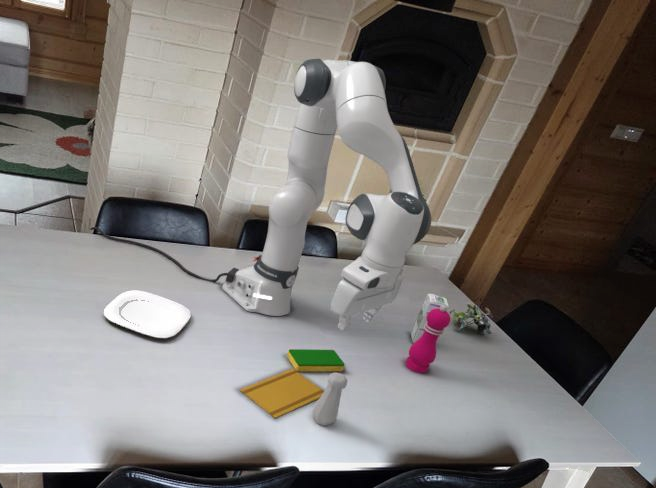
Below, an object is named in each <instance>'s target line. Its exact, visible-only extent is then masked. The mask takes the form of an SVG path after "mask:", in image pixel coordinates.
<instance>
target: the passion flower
mask: <svg viewBox="0 0 656 488" xmlns="http://www.w3.org/2000/svg"><path fill="white" fill-rule="evenodd" d="M466 306H467V307H468V309H467V310H466V311H465V312H463V311H461V312H458V313H457V312H456V310H455V309H451V310H450V311H449V315H450V314H452V313H454V314H453V315H452V319H456V320H455V321H454V322H453V326H455V325H456V324H457V323H459V322H461V324H460V327H459V328H458V329H456V332H458V331H461V329H465V328H467V327H469V326H470V325H476V326H477V327H476V331H477V334H481V336H484V332H486V333H487V334H488V335H491V334H492V331H491V323H490V322H489V321H490V319H493V315H492V311H490V309H489V307H487V306H485V307H484V310H485V312H486V313H483V311H482V309H481V307H479V305H477V304H474V305H473V306H472V305H471V304H470V302H469V301H468V302H467V305H466ZM486 316H488V317H486ZM470 318H471V319H472V320H470V321H468V319H470ZM489 318H490V319H489Z"/></svg>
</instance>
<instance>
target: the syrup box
mask: <svg viewBox="0 0 656 488" xmlns="http://www.w3.org/2000/svg"><path fill="white" fill-rule="evenodd" d="M442 305H445V306H446V307H447V310H446V312H448V309H449V306H450V305H449V303H448V299H447V297H445V296H442V295H439V294H434V293H429V292H428V293H427V294H426V296H425V300H424V301H423V303H422V306H421V307H420V310H419V313H418V316H417V318H416V320H415V322H414V324H413V326H412V329H411V332H410V337H411V338H410V339H411V342H412V344H414V343H415V342H416V341H417V340H418V339H419V338H420V337H421V336H422V335H423V333H424V331H425V329H424V326H425V324H426V323H427V315H428V313H429V312H430V311H431V310H433V309H440V306H442Z"/></svg>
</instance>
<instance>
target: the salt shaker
mask: <svg viewBox="0 0 656 488" xmlns="http://www.w3.org/2000/svg"><path fill="white" fill-rule="evenodd" d="M327 384H328V385H327V387H326V388H325V390H323V391H324V393H323V394H322V396H321V397H320V398H319V399H317V402H316V403H315V405H314V406H313V408H312V418H313V420H314V421H315V422H316V424H317V425H321V426H324V427H327V426H329V425H332V424H333V423H334V422H335V421H337V419H338V414H339V407H340V402H341V397H342V392H343V390H344V389H346V387H347V385H348V378H347V376H346V375H345V374H342V373H341V372H332V373H330V374H329V376H328V378H327Z"/></svg>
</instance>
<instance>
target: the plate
mask: <svg viewBox="0 0 656 488" xmlns="http://www.w3.org/2000/svg"><path fill="white" fill-rule="evenodd" d="M136 299H137V300H138V301H133V302H130V303H128V304H127V305H126V306H125V307H124V308H123V309H122V311H121V315H122V316H123V317H124V318H125V319H126V320H128V321H129V322H128V321H126V320H124V319H123V318H121V316H120V315H119V307H121V306H122V305H123V304H124V303H125V302H127V301H131V300H136ZM141 300H145V301H141ZM148 301H149V302H148ZM103 316H104V318H106V320H108V321H109V322H111V323H113V324H115V323H116V324H115V325H117V326H119V325H120V326H119V327H122V328H124V327H125V328H124V329H127V330H129V329H130V331H132V332H135V333H138V334H141V335H144V336H147V337H150V338H153V339H163V340H164V339H165V340H166V339H169V338H173V337H175V336H176V335H177V334H178V333H180V332H181V331H182V329H184V327H185V326H186V325H187V324H188V323H189V321H190V320H191V317H192V314H191V310H190V309H188V308H187V307H186V306H184V305H183V304H181V303H179V302H176V301H174V300H171V299H168V298H166V297H163V296H161V295H157V294H154V293H151V292H147V291H144V290H136V289H131V290H127V291H124V292H122V293H120V294H119V295H118V296H116V297H115V298H114V299H113V300H112V301H110V302H109V303H108V304H107V305H106V306H105V308H104V309H103ZM130 322H131V323H130ZM133 323H134V324H133ZM135 324H136V325H135ZM138 325H139V326H138Z"/></svg>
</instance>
